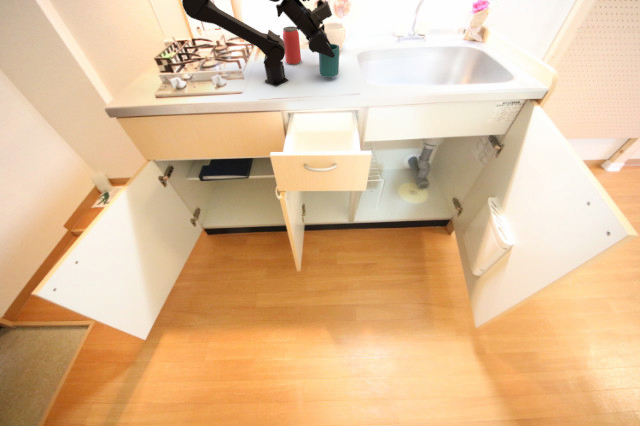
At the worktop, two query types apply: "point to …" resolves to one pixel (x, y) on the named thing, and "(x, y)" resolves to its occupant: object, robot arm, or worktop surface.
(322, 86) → the worktop surface
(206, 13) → the robot arm
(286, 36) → the beer can
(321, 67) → the jar
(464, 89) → the worktop surface
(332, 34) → the cup
